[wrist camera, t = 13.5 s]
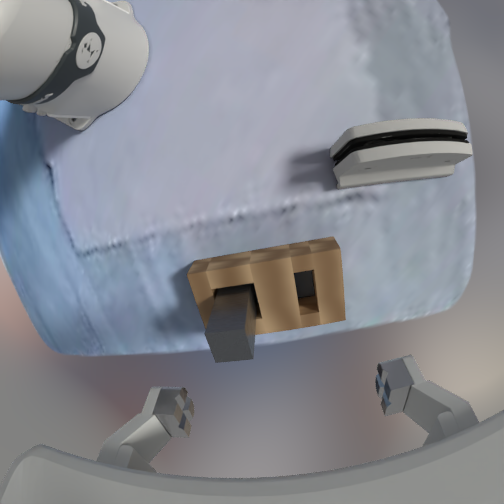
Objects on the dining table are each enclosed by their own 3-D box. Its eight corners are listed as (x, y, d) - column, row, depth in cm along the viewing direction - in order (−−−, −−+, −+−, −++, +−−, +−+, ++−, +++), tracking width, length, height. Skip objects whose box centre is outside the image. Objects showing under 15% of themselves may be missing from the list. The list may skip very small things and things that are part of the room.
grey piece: (334, 189, 34) (352, 172, 24) (326, 152, 33) (339, 122, 24) (449, 176, 32) (491, 160, 22) (440, 142, 31) (479, 118, 21)
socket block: (214, 322, 42) (209, 339, 38) (194, 260, 38) (186, 274, 34) (339, 303, 40) (345, 320, 36) (333, 236, 36) (340, 248, 32)
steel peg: (229, 302, 40) (215, 362, 29) (222, 277, 39) (204, 333, 28) (257, 298, 40) (253, 359, 29) (251, 272, 38) (244, 329, 27)
